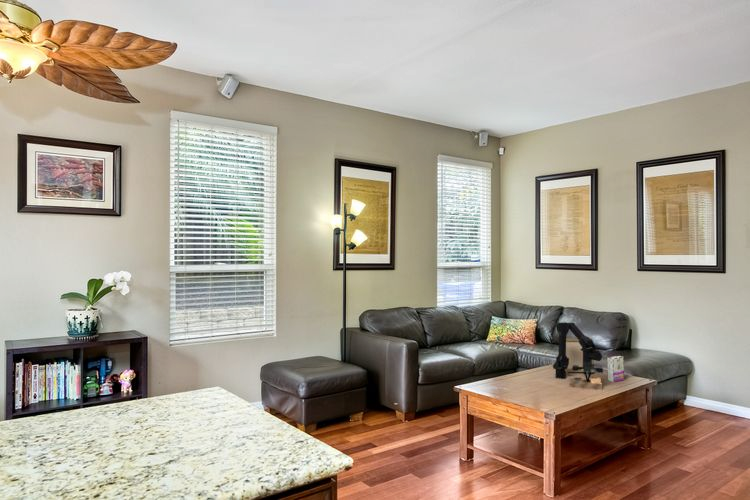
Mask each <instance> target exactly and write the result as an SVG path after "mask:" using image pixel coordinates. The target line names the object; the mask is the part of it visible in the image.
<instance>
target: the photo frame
mask: <svg viewBox="0 0 750 500" xmlns="http://www.w3.org/2000/svg"><path fill="white" fill-rule="evenodd" d="M590 339H591V340H592V341H593V338H590ZM580 349H582V347H581V345H580V344H579V340H578V339H577V337H575V338H574V337H572V338H571V337H566V356H567V358H569V365H568V368H567V369H565V371H566V373H582V370H578V371H573V370H572V366H573V365H579V367H583V351H581V350H580ZM594 361H595V360H592V364H594V363H595V362H594ZM594 365H595V364H594ZM588 373H589V372H588V371H587V374H588ZM594 373H595V371H594V372H593V373H592V374H594Z"/></svg>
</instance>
